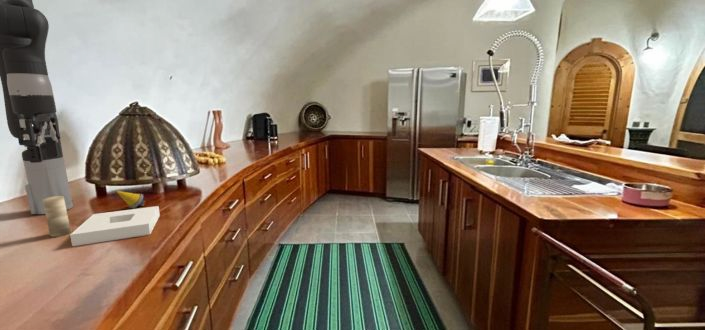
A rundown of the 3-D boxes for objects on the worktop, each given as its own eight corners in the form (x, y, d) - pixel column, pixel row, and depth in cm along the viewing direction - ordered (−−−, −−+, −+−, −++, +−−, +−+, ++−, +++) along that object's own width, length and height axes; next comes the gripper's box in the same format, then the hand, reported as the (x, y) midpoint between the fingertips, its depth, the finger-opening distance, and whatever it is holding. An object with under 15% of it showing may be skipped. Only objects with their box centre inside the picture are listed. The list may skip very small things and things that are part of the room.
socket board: (72, 246, 74) (70, 234, 74) (95, 224, 89) (93, 214, 88) (150, 234, 81) (148, 223, 80) (159, 215, 95) (158, 206, 94)
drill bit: (148, 209, 103) (118, 194, 96) (136, 214, 104) (107, 200, 97) (152, 196, 106) (125, 181, 99) (142, 202, 108) (113, 187, 101)
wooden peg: (47, 238, 79) (39, 201, 77) (54, 232, 83) (47, 197, 81) (67, 235, 81) (59, 199, 79) (73, 230, 84) (66, 195, 83)
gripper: (27, 95, 80) (40, 156, 83) (-9, 92, 67) (8, 165, 70) (64, 95, 83) (75, 154, 86) (37, 92, 70) (51, 162, 73)
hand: (45, 159), depth 78 cm, fingers open, 8 cm apart
